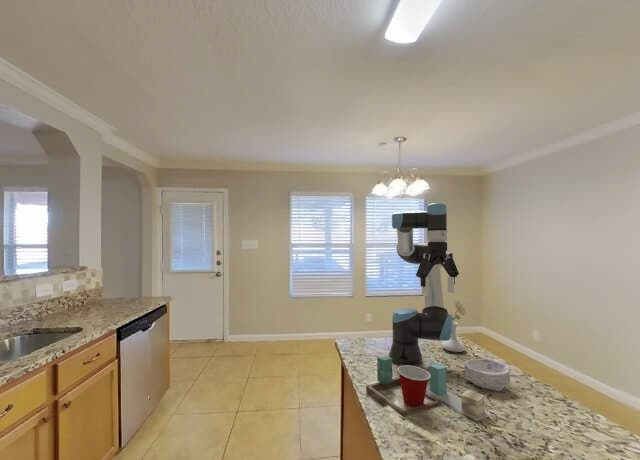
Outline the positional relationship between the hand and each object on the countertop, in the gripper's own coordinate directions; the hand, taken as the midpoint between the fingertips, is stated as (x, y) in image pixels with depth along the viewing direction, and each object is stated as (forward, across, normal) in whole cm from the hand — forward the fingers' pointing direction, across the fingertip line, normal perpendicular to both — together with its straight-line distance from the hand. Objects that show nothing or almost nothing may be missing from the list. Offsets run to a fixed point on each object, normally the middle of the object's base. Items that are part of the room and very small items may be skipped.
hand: (438, 293), depth 121 cm
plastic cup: (+35, -22, -11) cm, 43 cm away
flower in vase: (+35, +33, +24) cm, 54 cm away
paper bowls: (+35, +13, -10) cm, 39 cm away
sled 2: (+34, -9, -17) cm, 39 cm away
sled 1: (+34, -23, -5) cm, 42 cm away
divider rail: (+34, -13, -17) cm, 41 cm away
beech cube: (+33, -8, -23) cm, 41 cm away
